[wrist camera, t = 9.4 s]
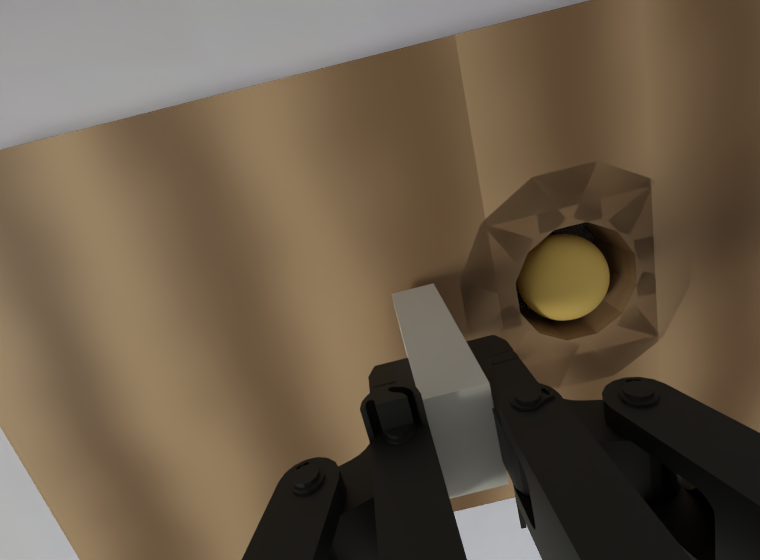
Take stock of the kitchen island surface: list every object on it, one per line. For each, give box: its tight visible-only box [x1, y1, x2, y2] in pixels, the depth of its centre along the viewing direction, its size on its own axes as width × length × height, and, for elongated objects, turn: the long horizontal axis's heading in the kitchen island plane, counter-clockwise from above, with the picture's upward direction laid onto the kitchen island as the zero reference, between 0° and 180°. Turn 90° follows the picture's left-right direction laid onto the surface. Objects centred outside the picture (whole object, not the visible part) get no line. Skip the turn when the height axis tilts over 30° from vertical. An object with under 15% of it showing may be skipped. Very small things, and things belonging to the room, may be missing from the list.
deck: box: [0, 0, 760, 560], centre depth 18 cm, size 30×18×3 cm, turn 103°
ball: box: [517, 234, 610, 321], centre depth 18 cm, size 3×3×3 cm
